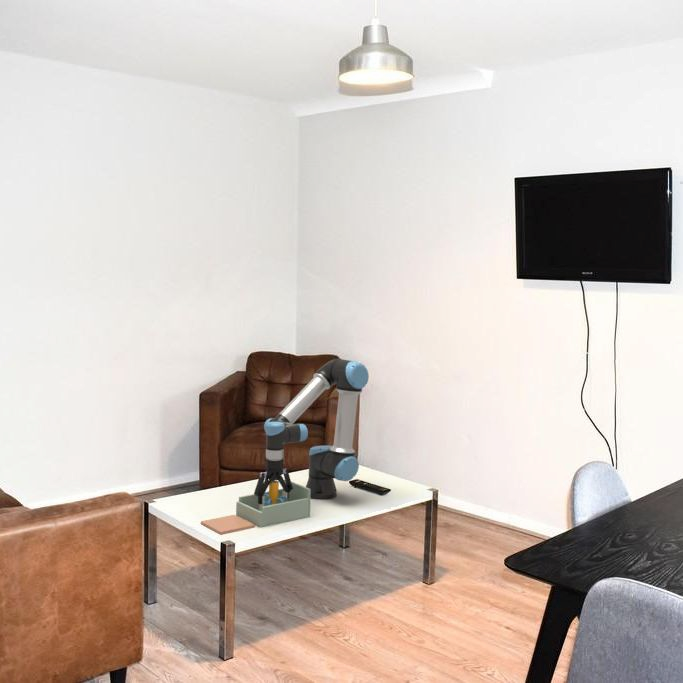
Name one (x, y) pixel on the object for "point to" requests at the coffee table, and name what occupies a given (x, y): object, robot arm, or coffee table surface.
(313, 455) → the robot arm
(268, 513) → the box
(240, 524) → the terracotta tile
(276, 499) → the orange tube
